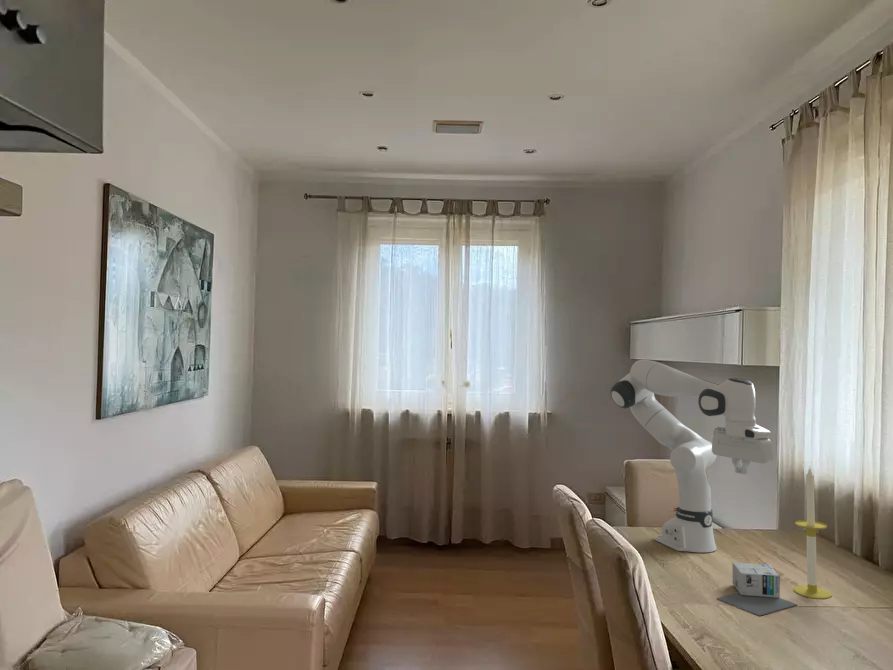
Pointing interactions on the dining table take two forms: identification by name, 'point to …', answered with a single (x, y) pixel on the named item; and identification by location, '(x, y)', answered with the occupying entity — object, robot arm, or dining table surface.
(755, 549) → the dining table surface
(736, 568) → the light bulb box
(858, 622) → the dining table surface
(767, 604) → the mat
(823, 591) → the candle
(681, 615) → the dining table surface
